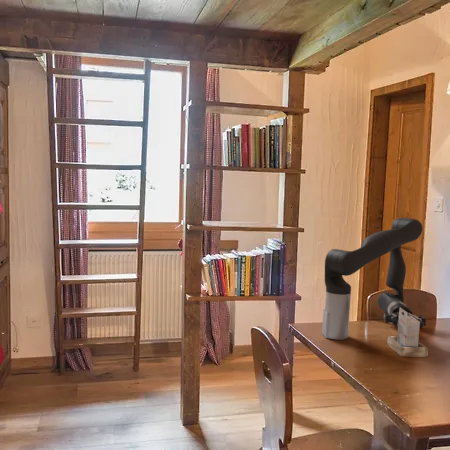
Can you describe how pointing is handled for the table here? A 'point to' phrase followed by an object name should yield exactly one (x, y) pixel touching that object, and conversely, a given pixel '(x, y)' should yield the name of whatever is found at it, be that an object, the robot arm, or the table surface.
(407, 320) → the ink box
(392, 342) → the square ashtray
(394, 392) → the table surface
